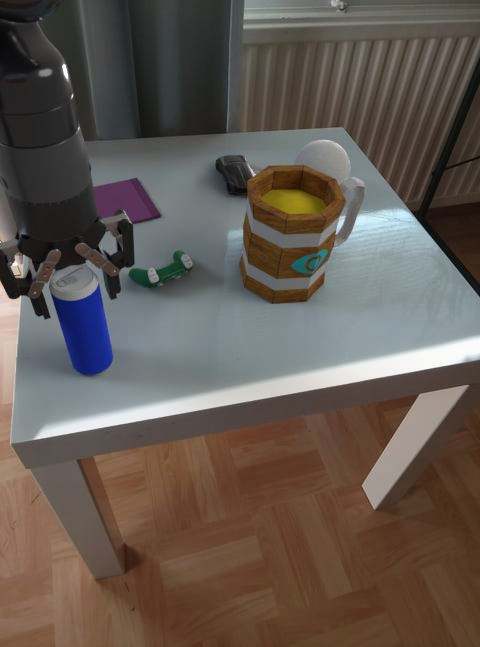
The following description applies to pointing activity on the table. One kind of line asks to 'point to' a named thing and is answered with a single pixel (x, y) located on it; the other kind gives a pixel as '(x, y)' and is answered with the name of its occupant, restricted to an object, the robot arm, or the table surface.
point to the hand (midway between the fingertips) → (79, 303)
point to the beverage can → (82, 318)
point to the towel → (125, 200)
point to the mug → (293, 230)
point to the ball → (325, 159)
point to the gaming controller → (162, 271)
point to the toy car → (235, 172)
